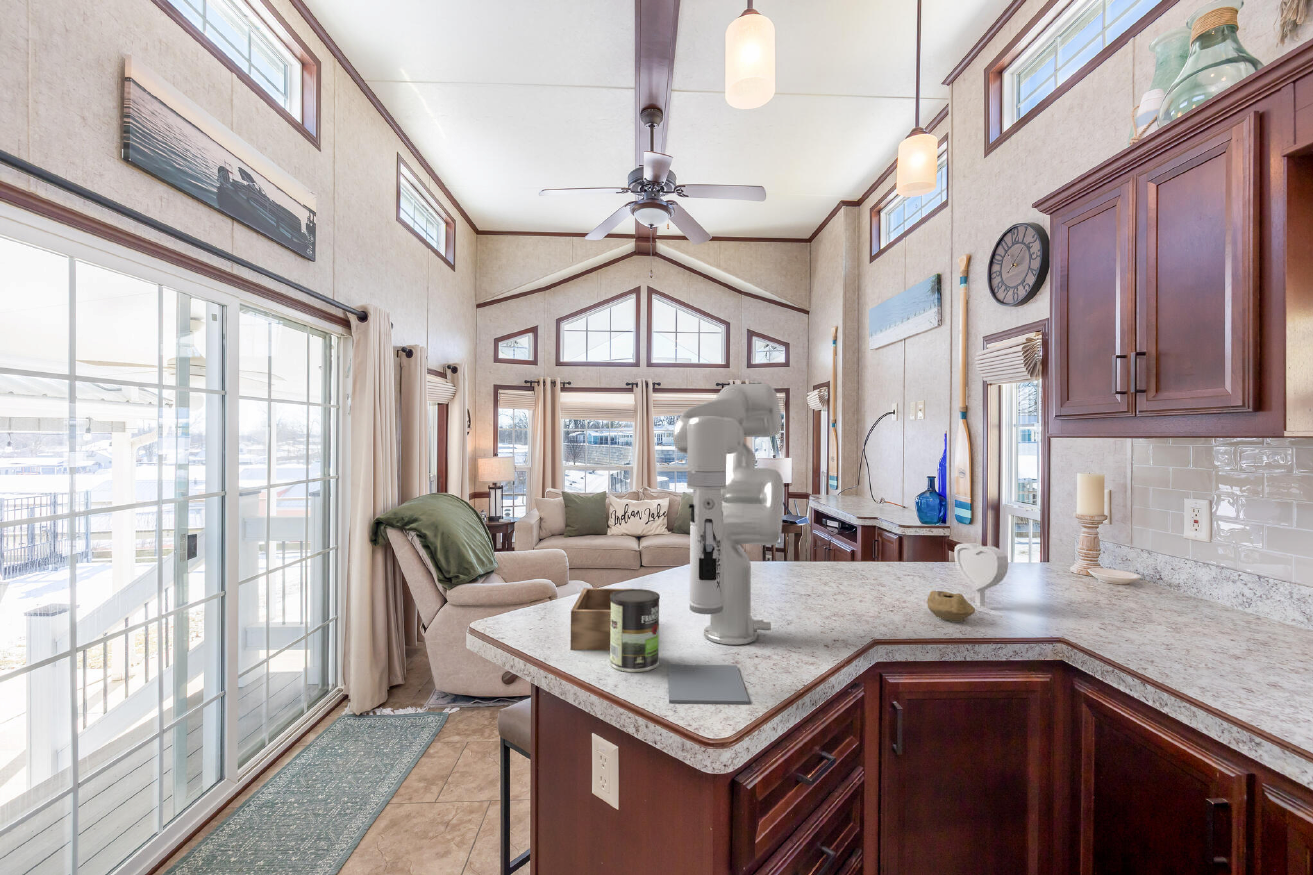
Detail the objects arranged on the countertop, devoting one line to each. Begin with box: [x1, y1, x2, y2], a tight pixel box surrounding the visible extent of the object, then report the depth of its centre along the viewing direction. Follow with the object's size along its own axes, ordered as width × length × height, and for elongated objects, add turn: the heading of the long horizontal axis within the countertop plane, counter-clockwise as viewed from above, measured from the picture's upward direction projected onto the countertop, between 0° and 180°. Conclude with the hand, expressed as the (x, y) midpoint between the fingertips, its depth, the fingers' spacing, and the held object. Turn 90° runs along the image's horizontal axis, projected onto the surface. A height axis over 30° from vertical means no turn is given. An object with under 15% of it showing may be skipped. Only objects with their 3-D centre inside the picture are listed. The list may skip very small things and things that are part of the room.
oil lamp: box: [926, 590, 976, 622], centre depth 148 cm, size 11×15×8 cm
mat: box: [667, 663, 750, 705], centre depth 105 cm, size 14×16×1 cm
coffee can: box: [609, 588, 661, 673], centre depth 115 cm, size 10×10×14 cm
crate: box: [569, 587, 627, 651], centre depth 132 cm, size 13×20×8 cm, turn 179°
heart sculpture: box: [953, 542, 1009, 608], centre depth 157 cm, size 16×5×18 cm, turn 13°
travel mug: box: [688, 503, 723, 615], centre depth 105 cm, size 6×7×20 cm
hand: (706, 574), depth 105 cm, fingers closed on travel mug, 6 cm apart
